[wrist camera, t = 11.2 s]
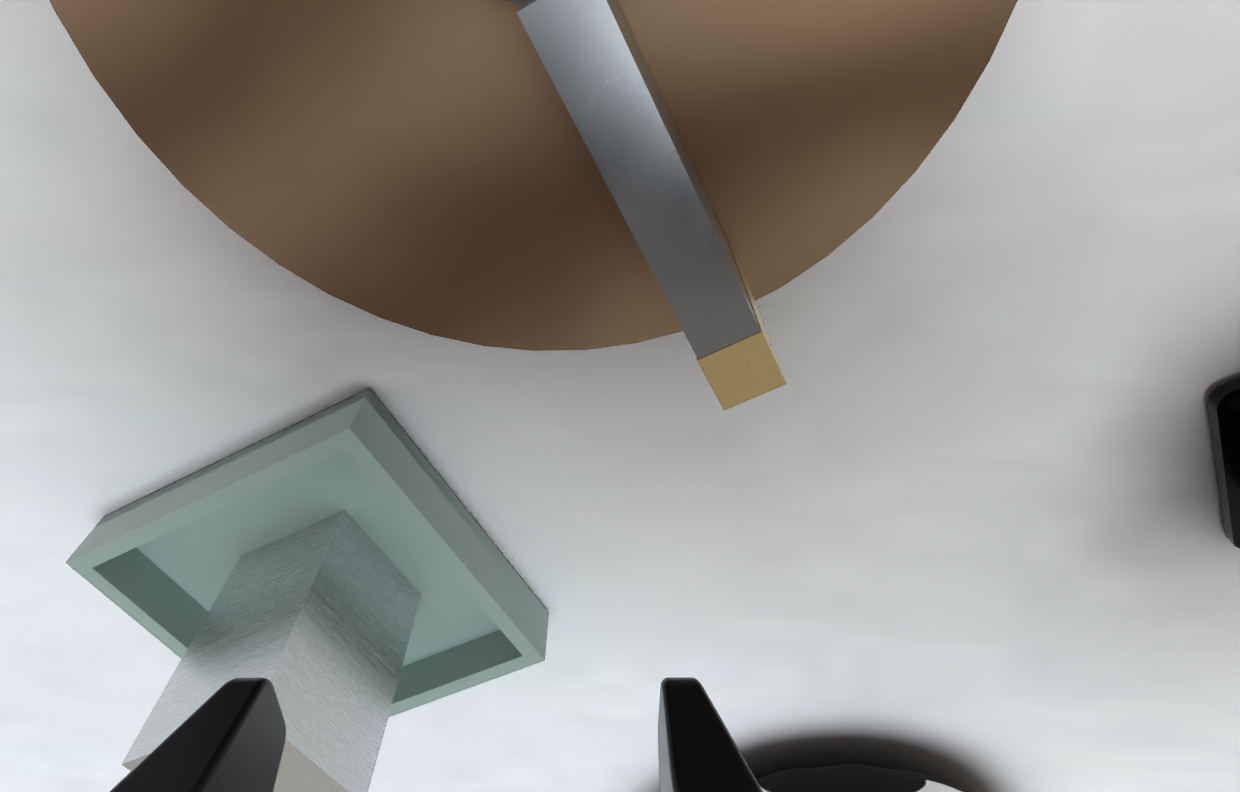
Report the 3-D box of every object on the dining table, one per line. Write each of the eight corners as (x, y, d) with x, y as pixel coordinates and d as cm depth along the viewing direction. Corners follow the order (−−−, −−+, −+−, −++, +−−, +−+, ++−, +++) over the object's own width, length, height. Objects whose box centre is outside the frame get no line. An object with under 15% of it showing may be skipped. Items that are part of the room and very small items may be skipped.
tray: (548, 612, 27) (544, 660, 25) (312, 702, 29) (293, 751, 27) (369, 388, 22) (349, 427, 20) (103, 516, 24) (65, 562, 22)
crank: (391, -167, 14) (295, -200, 10) (567, -286, 13) (547, -379, 9) (653, 317, 19) (666, 434, 15) (791, 253, 18) (848, 357, 14)
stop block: (421, 595, 25) (364, 804, 19) (321, 634, 26) (237, 846, 20) (345, 510, 23) (255, 713, 18) (240, 555, 24) (121, 764, 18)
